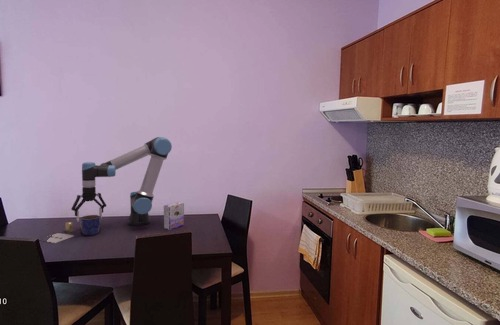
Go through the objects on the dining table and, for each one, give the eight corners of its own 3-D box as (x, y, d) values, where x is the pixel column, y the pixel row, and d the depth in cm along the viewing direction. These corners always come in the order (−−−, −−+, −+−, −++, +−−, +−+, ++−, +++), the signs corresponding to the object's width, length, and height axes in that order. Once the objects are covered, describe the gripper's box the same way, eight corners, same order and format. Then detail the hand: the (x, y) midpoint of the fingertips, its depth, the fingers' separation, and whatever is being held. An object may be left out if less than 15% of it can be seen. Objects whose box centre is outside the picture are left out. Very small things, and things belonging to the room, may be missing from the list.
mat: (74, 236, 203) (74, 235, 203) (54, 243, 190) (54, 242, 190) (57, 233, 208) (57, 233, 208) (37, 240, 195) (37, 239, 194)
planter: (102, 231, 214) (101, 214, 213) (97, 236, 204) (96, 219, 203) (84, 231, 212) (83, 215, 211) (78, 237, 202) (78, 219, 201)
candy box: (178, 224, 232) (178, 201, 231) (184, 225, 229) (184, 202, 227) (163, 228, 221) (163, 205, 220) (169, 230, 218) (169, 206, 216)
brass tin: (74, 231, 214) (73, 222, 213) (69, 232, 210) (68, 223, 209) (69, 230, 215) (69, 221, 214) (64, 232, 211) (63, 223, 211)
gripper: (107, 184, 216) (107, 215, 218) (65, 187, 200) (66, 221, 201) (111, 185, 210) (111, 217, 212) (68, 189, 194) (69, 223, 196)
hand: (89, 219), depth 207 cm, fingers open, 13 cm apart
